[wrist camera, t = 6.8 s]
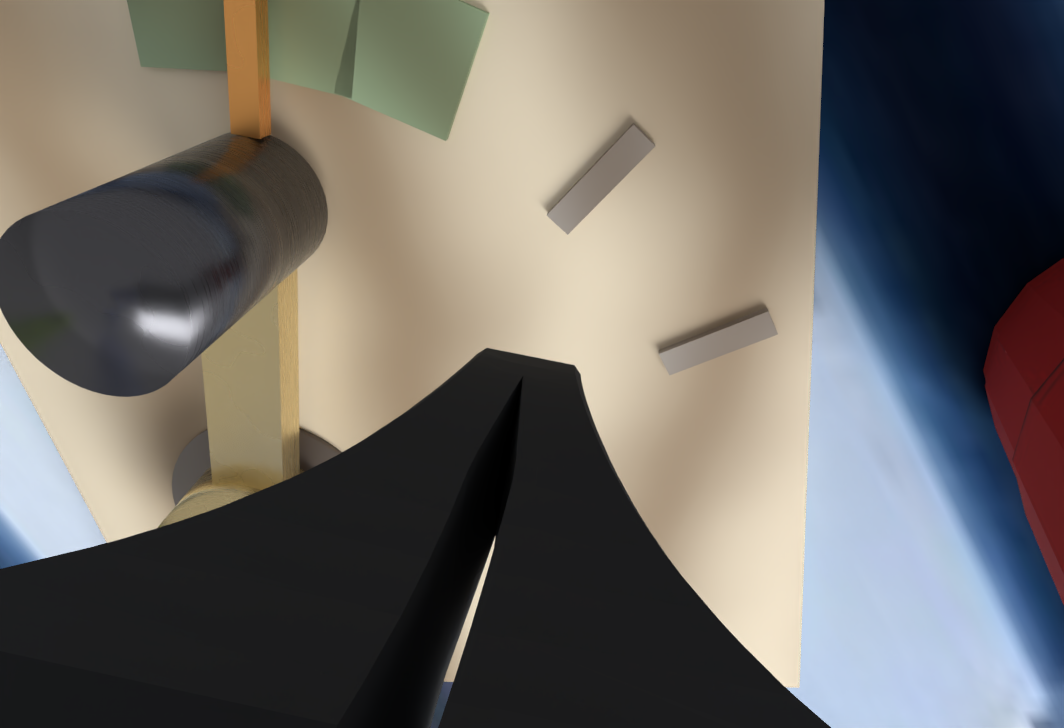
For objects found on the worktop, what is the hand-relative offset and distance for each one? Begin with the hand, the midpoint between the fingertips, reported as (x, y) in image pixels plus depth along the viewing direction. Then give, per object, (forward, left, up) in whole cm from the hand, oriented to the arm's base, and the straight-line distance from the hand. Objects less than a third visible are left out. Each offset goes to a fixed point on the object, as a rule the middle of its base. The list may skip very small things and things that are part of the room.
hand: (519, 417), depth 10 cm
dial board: (-5, -3, -7) cm, 9 cm away
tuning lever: (-7, -1, -6) cm, 9 cm away
